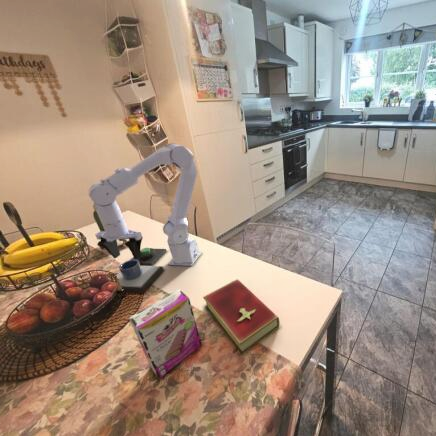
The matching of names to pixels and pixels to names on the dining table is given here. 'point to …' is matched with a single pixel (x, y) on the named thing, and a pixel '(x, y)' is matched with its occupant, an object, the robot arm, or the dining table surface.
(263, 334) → the hardcover book
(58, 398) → the dining table surface
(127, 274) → the cup
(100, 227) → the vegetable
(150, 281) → the scale
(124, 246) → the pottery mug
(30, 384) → the dining table surface
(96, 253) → the dining table surface
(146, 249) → the button
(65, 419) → the dining table surface
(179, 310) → the candy bar box
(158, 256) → the block
